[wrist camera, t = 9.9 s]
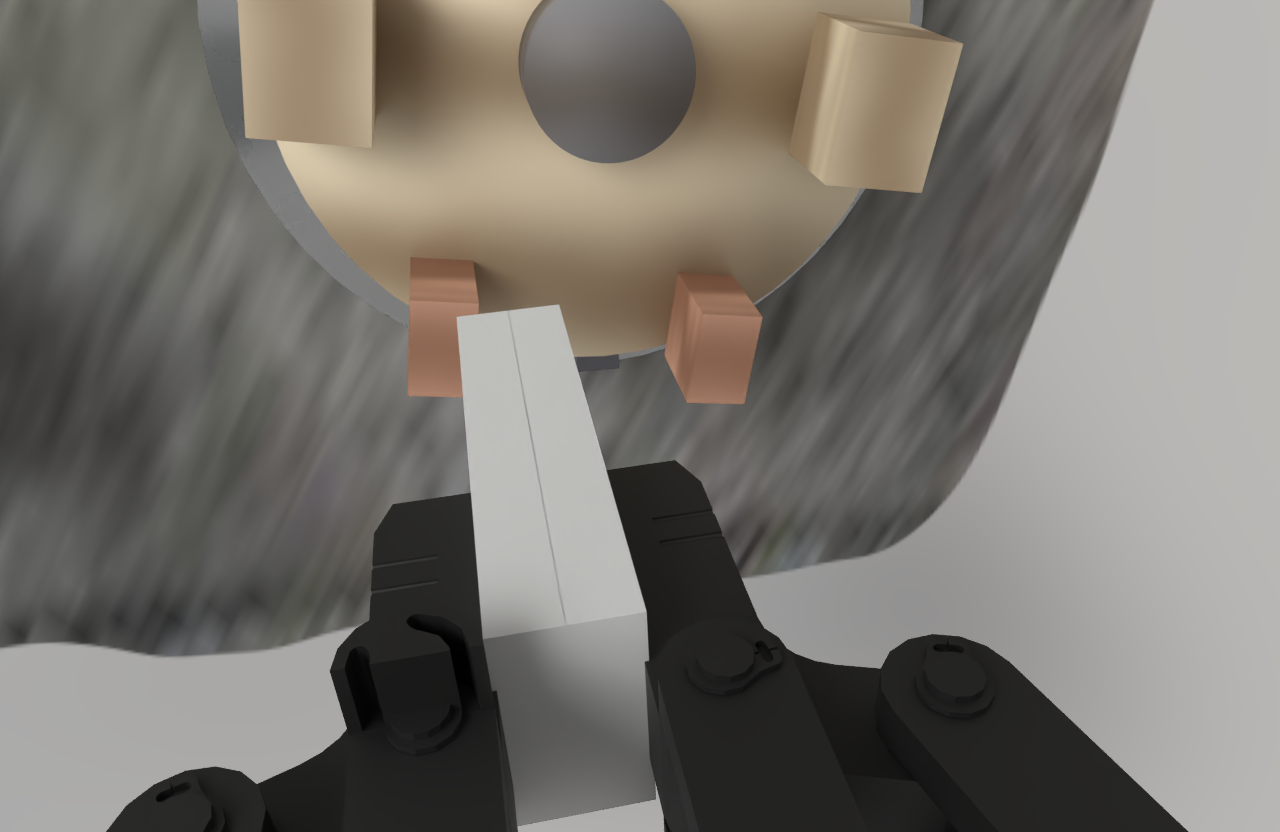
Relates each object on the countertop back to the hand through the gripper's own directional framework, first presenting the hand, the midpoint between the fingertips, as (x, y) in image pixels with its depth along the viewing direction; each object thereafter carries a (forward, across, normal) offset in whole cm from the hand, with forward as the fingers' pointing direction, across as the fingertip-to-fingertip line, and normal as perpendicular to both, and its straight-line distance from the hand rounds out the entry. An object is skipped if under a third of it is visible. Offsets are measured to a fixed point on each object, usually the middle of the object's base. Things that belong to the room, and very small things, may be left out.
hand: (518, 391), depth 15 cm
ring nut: (+21, +4, 0) cm, 21 cm away
